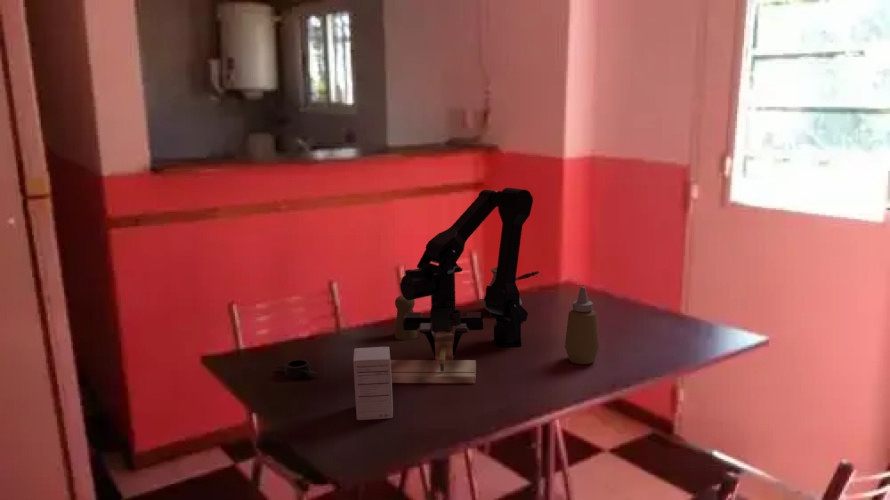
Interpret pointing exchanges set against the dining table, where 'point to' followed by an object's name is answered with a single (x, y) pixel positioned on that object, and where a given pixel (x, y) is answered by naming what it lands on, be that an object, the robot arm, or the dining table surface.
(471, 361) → the board
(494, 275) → the coffee pot
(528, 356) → the dining table surface
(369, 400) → the supplement box
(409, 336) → the cork
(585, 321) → the squeeze bottle
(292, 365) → the dark ring with tabs
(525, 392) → the dining table surface
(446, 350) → the gauge
